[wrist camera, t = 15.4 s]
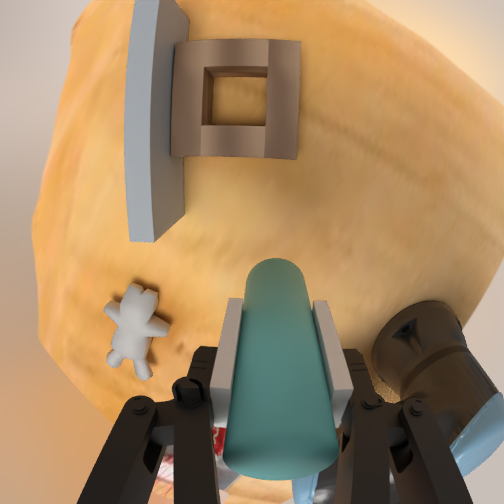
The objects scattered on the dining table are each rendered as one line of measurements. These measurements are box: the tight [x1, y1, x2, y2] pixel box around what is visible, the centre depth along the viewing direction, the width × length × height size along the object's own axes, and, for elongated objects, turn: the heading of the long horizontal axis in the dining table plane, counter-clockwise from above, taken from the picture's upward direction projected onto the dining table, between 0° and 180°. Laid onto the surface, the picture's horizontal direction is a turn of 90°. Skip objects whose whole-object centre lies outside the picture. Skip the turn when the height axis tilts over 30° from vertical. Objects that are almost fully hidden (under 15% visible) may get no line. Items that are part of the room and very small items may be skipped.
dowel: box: [223, 258, 339, 480], centre depth 14 cm, size 4×4×13 cm
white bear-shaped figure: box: [104, 282, 171, 381], centre depth 38 cm, size 10×5×15 cm
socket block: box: [171, 39, 301, 160], centre depth 27 cm, size 12×12×5 cm
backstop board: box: [124, 0, 189, 242], centre depth 25 cm, size 2×24×10 cm, turn 178°
